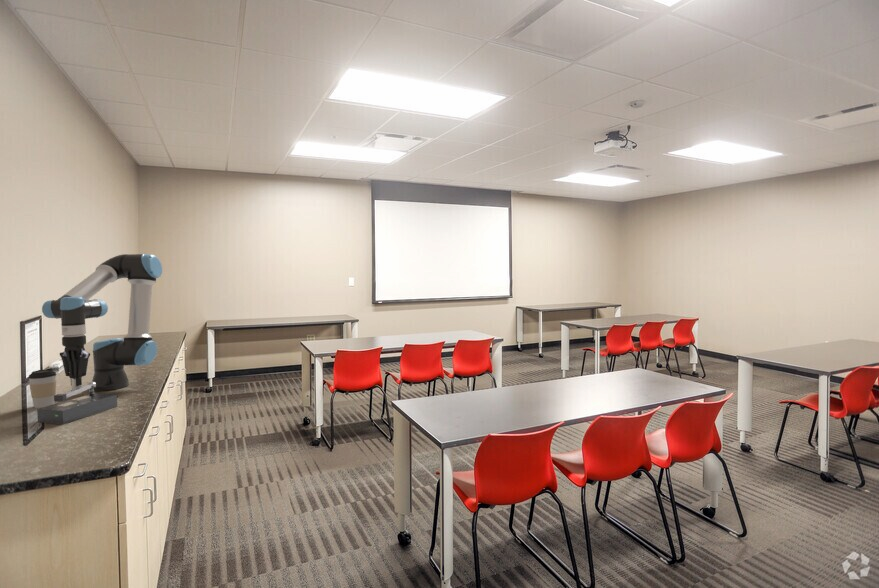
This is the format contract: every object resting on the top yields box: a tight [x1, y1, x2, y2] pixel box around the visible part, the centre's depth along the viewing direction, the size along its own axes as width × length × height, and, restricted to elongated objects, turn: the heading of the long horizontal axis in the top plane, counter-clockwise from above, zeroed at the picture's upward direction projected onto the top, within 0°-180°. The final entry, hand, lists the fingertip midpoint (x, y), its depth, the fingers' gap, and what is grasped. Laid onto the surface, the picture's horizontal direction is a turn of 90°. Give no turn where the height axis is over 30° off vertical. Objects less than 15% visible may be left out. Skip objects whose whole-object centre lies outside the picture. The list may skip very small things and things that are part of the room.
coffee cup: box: [27, 368, 57, 409], centre depth 193 cm, size 9×9×15 cm
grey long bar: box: [54, 381, 96, 402], centre depth 182 cm, size 21×3×2 cm, turn 7°
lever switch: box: [36, 388, 118, 425], centre depth 181 cm, size 22×12×8 cm, turn 167°
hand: (76, 393), depth 185 cm, fingers closed
